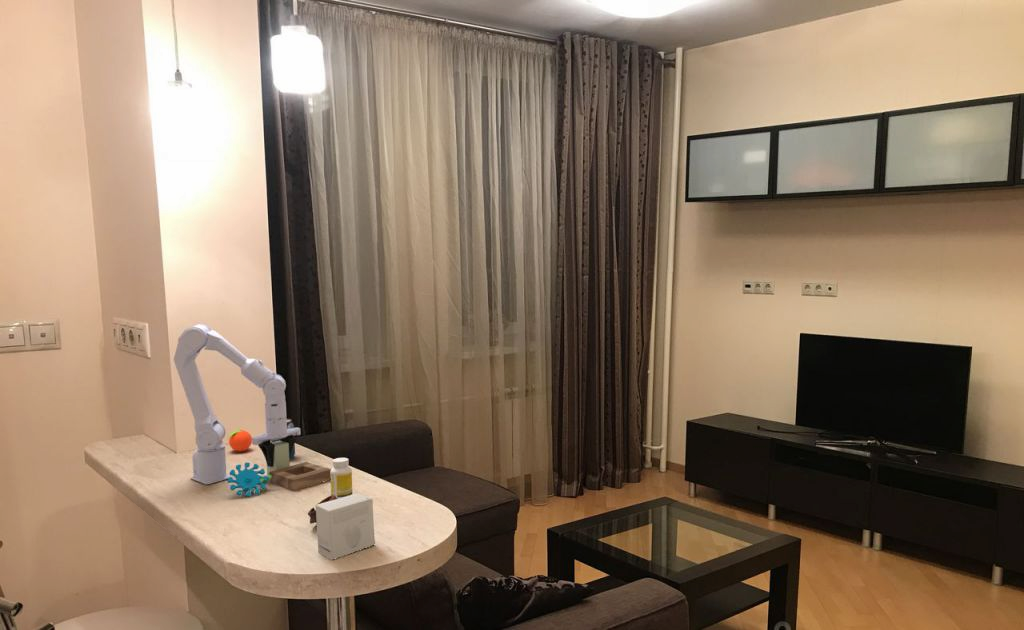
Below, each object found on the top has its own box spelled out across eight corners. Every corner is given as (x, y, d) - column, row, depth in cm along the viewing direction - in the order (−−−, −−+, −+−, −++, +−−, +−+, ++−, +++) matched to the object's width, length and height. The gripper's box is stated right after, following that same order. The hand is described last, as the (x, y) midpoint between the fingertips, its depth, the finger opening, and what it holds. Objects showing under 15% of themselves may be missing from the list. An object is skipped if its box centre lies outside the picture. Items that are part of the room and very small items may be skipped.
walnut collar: (269, 482, 195) (269, 471, 195) (306, 471, 204) (306, 461, 204) (294, 490, 188) (293, 480, 187) (331, 479, 197) (331, 469, 197)
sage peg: (267, 474, 203) (265, 443, 202) (281, 470, 206) (279, 440, 205) (276, 477, 200) (274, 446, 199) (289, 473, 203) (288, 443, 202)
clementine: (235, 456, 222) (234, 434, 222) (222, 453, 226) (221, 431, 226) (256, 450, 229) (255, 428, 229) (243, 447, 233) (242, 426, 232)
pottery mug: (342, 539, 156) (321, 509, 155) (315, 549, 160) (296, 520, 160) (372, 508, 166) (353, 479, 165) (346, 519, 171) (328, 491, 170)
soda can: (299, 457, 220) (298, 419, 219) (282, 462, 214) (280, 424, 213) (285, 454, 224) (283, 417, 223) (267, 459, 218) (265, 421, 217)
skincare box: (360, 537, 155) (358, 491, 154) (375, 546, 151) (374, 498, 150) (316, 551, 148) (314, 503, 147) (331, 560, 143) (329, 511, 143)
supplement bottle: (356, 494, 184) (355, 458, 183) (343, 501, 179) (342, 463, 178) (340, 492, 186) (338, 455, 185) (326, 498, 181) (325, 461, 180)
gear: (228, 495, 180) (228, 461, 186) (225, 506, 184) (224, 472, 190) (273, 493, 185) (271, 460, 191) (268, 504, 189) (267, 471, 195)
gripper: (260, 424, 193) (263, 472, 195) (305, 415, 205) (307, 460, 206) (247, 421, 198) (249, 468, 199) (292, 412, 209) (293, 456, 210)
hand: (278, 464), depth 203 cm, fingers closed on sage peg, 4 cm apart
